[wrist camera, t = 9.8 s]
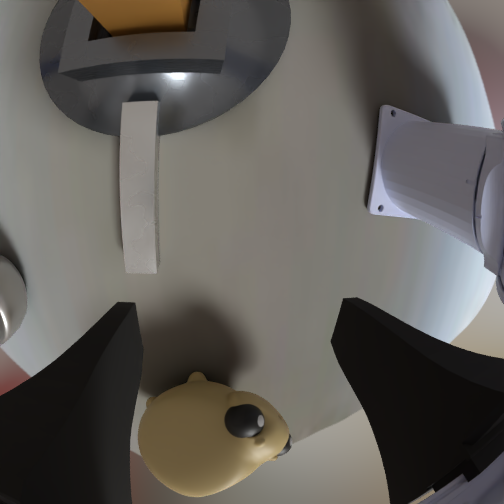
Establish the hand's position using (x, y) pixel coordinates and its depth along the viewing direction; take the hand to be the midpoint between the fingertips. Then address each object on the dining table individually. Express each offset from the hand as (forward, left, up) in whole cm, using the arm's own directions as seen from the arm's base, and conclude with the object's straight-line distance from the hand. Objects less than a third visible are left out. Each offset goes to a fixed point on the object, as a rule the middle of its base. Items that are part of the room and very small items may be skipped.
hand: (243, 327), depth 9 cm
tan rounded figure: (+1, +15, -10) cm, 18 cm away
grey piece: (+5, -10, -9) cm, 15 cm away
